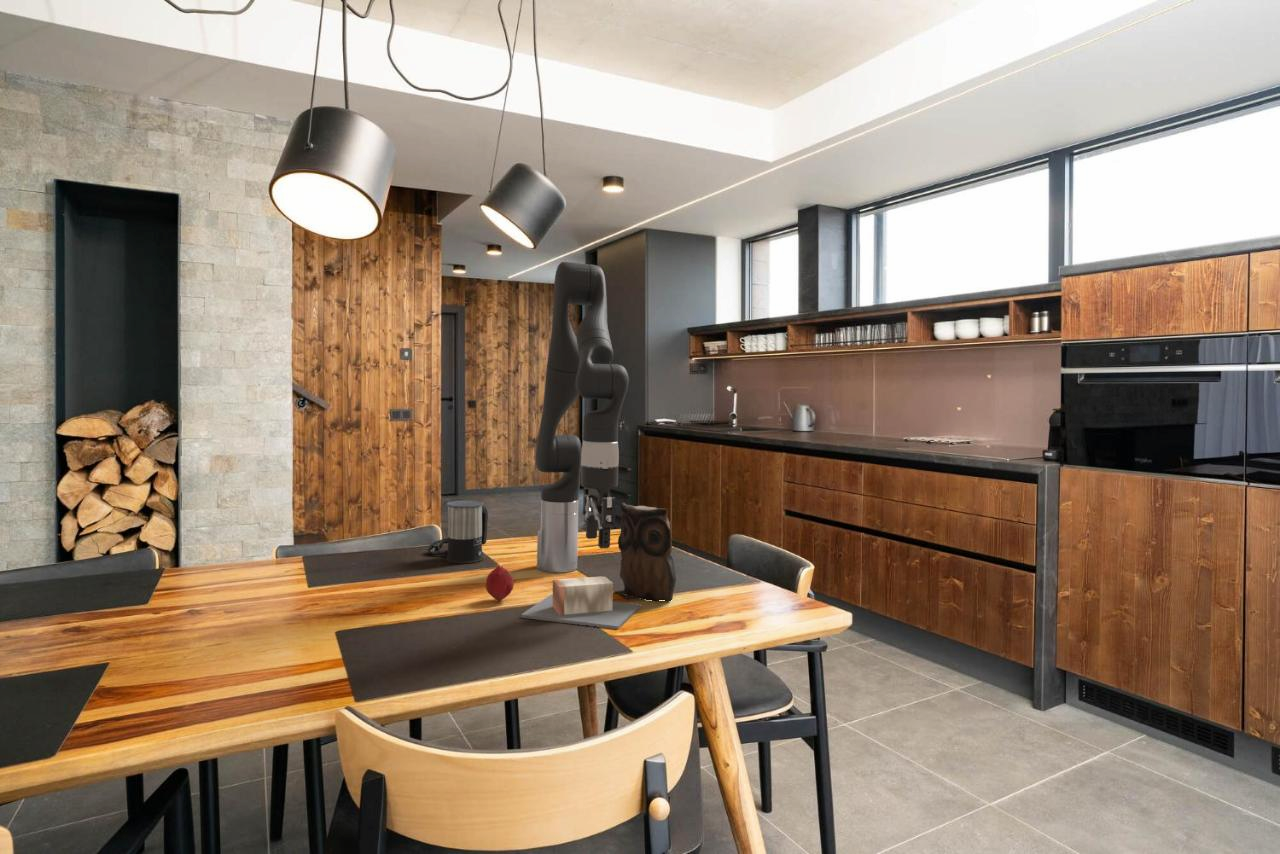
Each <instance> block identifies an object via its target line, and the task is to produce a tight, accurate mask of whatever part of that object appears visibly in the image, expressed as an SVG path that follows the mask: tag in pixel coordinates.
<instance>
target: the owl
mask: <svg viewBox="0 0 1280 854" xmlns="http://www.w3.org/2000/svg"><path fill="white" fill-rule="evenodd" d="M620 509H621V518H620V519H621V520H620V534H619V536H618V541H617V545H618V547H617V548H618V549H619V551H620V554H621V559H620V570H619V577H620V579H621V580H622V582H623V586H624V589H623V590H622V591H623V593H624V594H626V595H627V596H633V597H632V598H635V597H636V598H641V599H640V600H643V599H646V600H652V601H651V602H653V601H659V600H665V601H671V600H672V599H673V597H674V593H675V588H676V582H677V575H676V574H677V573H676V570H675V563H674V562H675V560H674V558H673V557H674V556H673V544H672V542H673V536H672V530H671V527H670V526H671V522H670V521H669V518H668V515H669V511H668V509H667V508H657V507H654V506H653V507H652V506H646V505H637V506H634V505H630V504H626V503H625V502H621V504H620ZM623 593H622V594H623ZM624 594H623V595H624ZM627 596H626V597H627ZM673 600H674V599H673Z"/></svg>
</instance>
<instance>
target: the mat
mask: <svg viewBox="0 0 1280 854" xmlns="http://www.w3.org/2000/svg"><path fill="white" fill-rule="evenodd" d="M552 602H553V593H552V594H549V595H548V596H546V597H545V598H544V599H542V600H540V601H539V602H537V603H536V604H535V605H533V606H531V607H530V608H528V609H527V610H526V611H524V612H523V613H521V615H520V618H522V619H530V620H537V621H548V622H554V623H555V622H556V623H561V624H562V623H563V624H564V623H565V624H570V625H572V624H573V625H578V624H579V625H578V626H586V625H588V626H587V627H594V626H596V628H604V629H605V628H606V629H613V630H619V629H620V628H621V627H623V625H624V624H625V623H626V622H627V621H628V620H629V619H630V618H631V617H632V616H633V615H634V614H635V613H636V612H637V611H638V610H639V609H640V608H641V604H640V603H632V602H631V603H630V602H623V601H614V600H613V607H612V611H601V612H590V613H578V614H567V615H559V614H558V613H557V612H556V611H555V609H554V608H553V607H552Z"/></svg>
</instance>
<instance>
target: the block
mask: <svg viewBox="0 0 1280 854" xmlns="http://www.w3.org/2000/svg"><path fill="white" fill-rule="evenodd" d="M552 595H553V602H552V607H553V608H554V609H555V611H556V612H557V613H558V614H559V615H567V614H578V613H590V612H601V611H612V607H613V601H614V600H613V599H614V582H613V581H611V580H610V579H608V577H606V575H605V576H604V575H602V576H587V577H574V578H573V577H571V578H560V579H556V578H555V579H552Z"/></svg>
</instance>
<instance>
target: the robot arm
mask: <svg viewBox="0 0 1280 854" xmlns="http://www.w3.org/2000/svg"><path fill="white" fill-rule="evenodd" d="M604 273H605V272H604V270H603V269H602V267H601V266H600V265H596V264H590V263H581V262H580V263H579V262H574V261H573V262H572V261H569V262H568V261H561V262H560V263H559V264H558V265H557V267H556V271H555V275H554V282H553V283H554V284H553V304H552V321H551V335H550V341H549V349H548V356H547V364H546V369H545V370H546V373H545V382H544V383H545V384H544V393H543V394H544V395H543V405H542V411H541V413H542V414H541V419H540V422H539V423H540V424H539V430H538V435H537V438H536V439H537V440H536V447H535V454H534V455H535V456H534V457H535V458H534V459H535V465H536V467H537V469H538V471H539V472H541V473H551V474H553V473H563V474H562V476H561V478H560V479H558V480H556V481H555V482H553V483H550V484H549V485H546V486H544V487H542V489H541V493H540V496H541V497H540V501H541V503H540V529H539V530H537V536H536V537H537V538H536V539H537V540H536V543H537V545H536V550H537V551H536V552H537V553H536V569H537V570H541V571H544V572H550V573H569V572H573V571H576V570H577V569H578V552H579V551H578V550H579V549H578V548H579V547H578V545H579V542H578V541H579V505H580V504H579V500H580V497H579V495H580V487H582V488H583V496H582V497H583V499H582V515H583V516H584V519H585V521H586V523H585V524H586V525H585V537H586V539H588V540H591V539H593V540H594V539H598V544H597V545H598V548H600V549H608V548H610V547H611V530H612V529H614V528H615V527H616V502H617V501H616V497H615V496H611V495H610V490H612V489H615V488H617V487H618V485H619V463H620V462H619V460H620V458H619V456H620V452H619V442H618V441H619V423H620V422H619V420H620V416H621V412H622V408H623V404H624V400H625V398H626V395H627V392H628V389H629V388H628V387H629V383H630V378H629V377H630V376H629V373H628V371H627V369H626V367H624V366H623V365H621V364H617V363H612V362H613V359H614V349H613V345H612V341H611V336H610V332H609V327H608V326H609V324H608V301H607V300H608V299H607V298H608V297H607V283H606V277H605V274H604ZM569 305H578V306H579V305H580V306H591V307H590V309H589V311H588V312H587V313H586V315H585V316H584V317H583V319H581V321H580V323H579V325H578V327H577V328H576V329H577V330H576V334H575V332H574V329H573V326H572V324H571V321H570V315H569ZM578 397H582V398H583V399H587V400H608V402H607V403H606V405H605V406H604V407H603V408H602V409H597V410H591V411H588V412H586V413H585V414H584V416H583V421H582V423H583V424H582V425H583V427H582V428H583V429H582V443H581V440H580V438H579V437H578V436H577V435H573V434H556V433H557V429H558V427H559V424H560V422H561V420H562V418H563V416H564V415H565V414H566V412H567V411H568V410H569V409H570V407H572V405H573V404H575V402H576V401H577V399H578Z"/></svg>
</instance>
